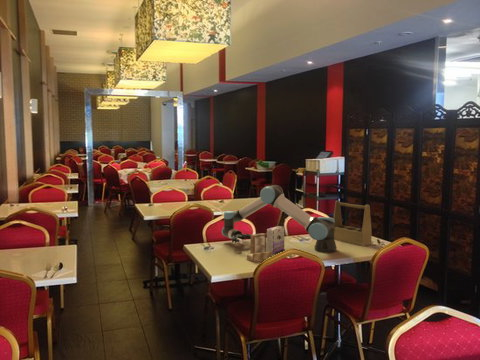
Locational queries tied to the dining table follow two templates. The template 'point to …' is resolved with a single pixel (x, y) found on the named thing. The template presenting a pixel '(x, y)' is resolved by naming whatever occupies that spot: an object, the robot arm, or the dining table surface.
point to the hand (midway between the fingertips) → (250, 240)
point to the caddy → (351, 233)
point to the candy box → (275, 239)
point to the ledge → (259, 256)
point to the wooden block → (258, 243)
